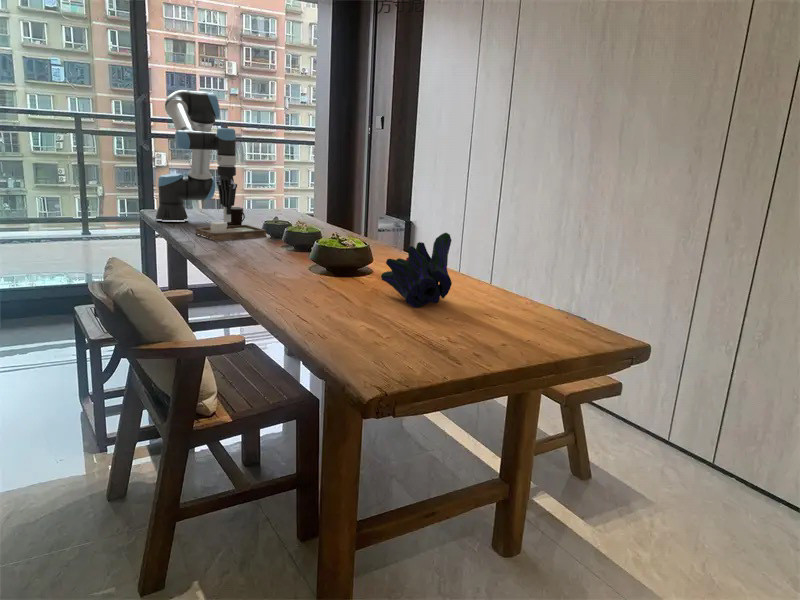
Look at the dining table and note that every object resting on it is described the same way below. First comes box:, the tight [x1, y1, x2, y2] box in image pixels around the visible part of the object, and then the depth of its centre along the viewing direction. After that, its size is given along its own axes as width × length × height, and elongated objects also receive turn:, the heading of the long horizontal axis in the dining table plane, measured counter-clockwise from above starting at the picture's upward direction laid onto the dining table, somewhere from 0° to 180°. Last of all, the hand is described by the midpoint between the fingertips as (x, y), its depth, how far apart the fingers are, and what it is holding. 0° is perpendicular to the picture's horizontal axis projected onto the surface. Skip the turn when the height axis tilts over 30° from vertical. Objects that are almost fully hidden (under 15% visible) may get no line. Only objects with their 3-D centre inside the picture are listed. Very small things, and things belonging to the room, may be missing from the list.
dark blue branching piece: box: [380, 232, 453, 309], centre depth 196 cm, size 21×26×30 cm
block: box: [210, 221, 227, 233], centre depth 273 cm, size 5×5×5 cm
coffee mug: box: [226, 206, 246, 226], centre depth 300 cm, size 12×9×10 cm
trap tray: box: [195, 224, 267, 241], centre depth 283 cm, size 17×26×3 cm, turn 135°
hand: (227, 221), depth 267 cm, fingers closed
